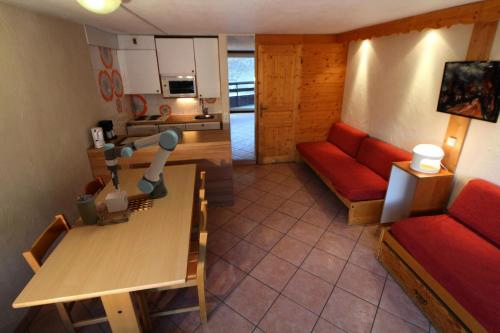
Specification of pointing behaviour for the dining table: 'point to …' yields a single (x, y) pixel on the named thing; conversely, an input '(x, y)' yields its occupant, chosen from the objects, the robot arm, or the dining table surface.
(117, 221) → the display bay
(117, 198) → the carton
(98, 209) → the brown small blob
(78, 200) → the canister
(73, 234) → the dining table surface
